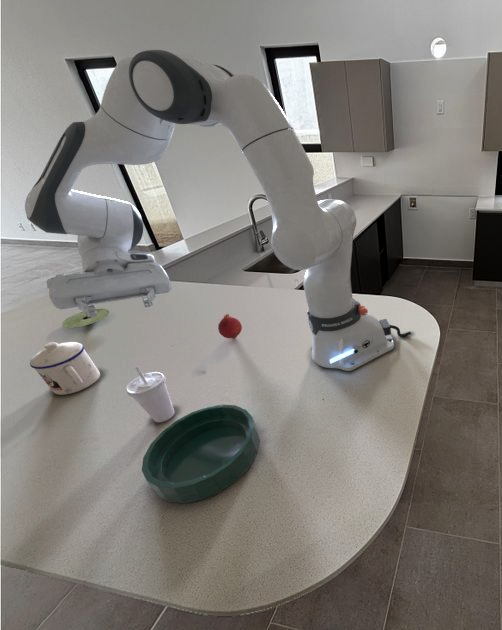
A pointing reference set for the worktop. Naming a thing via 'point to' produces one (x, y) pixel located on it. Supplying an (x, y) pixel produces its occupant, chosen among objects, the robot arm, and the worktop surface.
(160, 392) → the smoothie
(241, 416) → the green round tray
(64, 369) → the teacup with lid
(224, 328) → the onion
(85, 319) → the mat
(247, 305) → the worktop surface
